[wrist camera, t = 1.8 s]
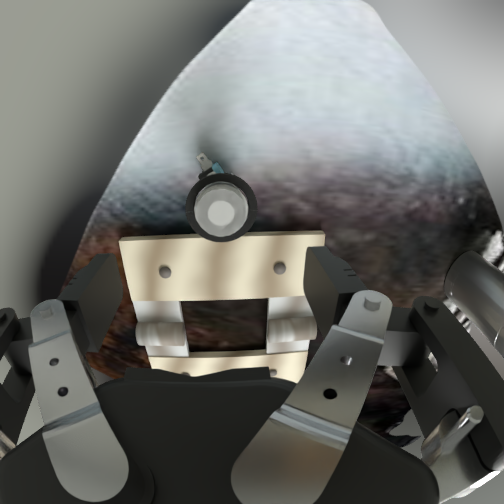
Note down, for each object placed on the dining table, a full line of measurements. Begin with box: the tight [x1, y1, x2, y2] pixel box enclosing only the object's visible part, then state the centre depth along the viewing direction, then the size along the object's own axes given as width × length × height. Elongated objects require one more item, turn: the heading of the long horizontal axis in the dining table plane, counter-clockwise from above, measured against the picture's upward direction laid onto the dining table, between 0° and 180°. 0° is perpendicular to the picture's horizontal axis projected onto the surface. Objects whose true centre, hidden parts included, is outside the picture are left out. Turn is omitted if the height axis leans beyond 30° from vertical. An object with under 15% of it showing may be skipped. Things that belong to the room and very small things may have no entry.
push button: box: [185, 152, 257, 242], centre depth 24 cm, size 7×5×10 cm
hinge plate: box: [119, 231, 325, 383], centre depth 35 cm, size 23×26×3 cm
